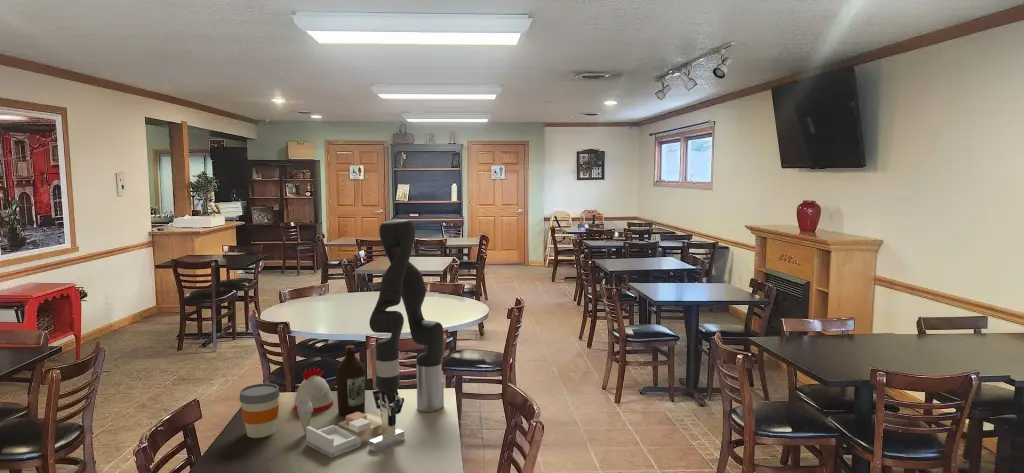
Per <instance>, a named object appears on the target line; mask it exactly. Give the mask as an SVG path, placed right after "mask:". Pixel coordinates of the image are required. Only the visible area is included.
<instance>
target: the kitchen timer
mask: <svg viewBox="0 0 1024 473" xmlns="http://www.w3.org/2000/svg"><path fill="white" fill-rule="evenodd" d="M320 371H321V369H320V368H316V366H313V368H312V367H310V368H309V371H308V369H307V368H305V370H304V373H303V372H301V375H302V377H303V381H302V382H301V383H300V385H299V387H298V388H297V391H296V394H295V397H294V410H295V411H298V410H297V408H298V405H299V403H300V402H301V398H302V396H303V394H304V392H305V394H306V396H307V397H308V399H309V402H311V403H312V409H313V411H312V413H317V412H322V411H325V410H328V409H330V408H332V407H333V405H334V397H333V394H332V391H331V389H330V386H329V384H328V382H327V381H326V380H325V379H324V378H323V375H324V371H323V370H322V371H321V372H320Z"/></svg>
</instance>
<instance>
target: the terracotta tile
mask: <svg viewBox="0 0 1024 473" xmlns="http://www.w3.org/2000/svg"><path fill="white" fill-rule="evenodd" d="M360 418H363V419H365V420H367V415H365V413H360V412H355V413H352V414H349V415H346V417H345V420H346V422H348V423H349V422H351V421H354V420H357V419H360Z"/></svg>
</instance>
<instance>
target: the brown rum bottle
mask: <svg viewBox="0 0 1024 473" xmlns="http://www.w3.org/2000/svg"><path fill="white" fill-rule="evenodd" d="M355 348H356V347H355V345H346V346H345V351H344V352H345V356H344V358H343V359H342V360H341V361H340V363H338V365H337V366H336V370H335V383H336V395H337V413H338V415H339V417H342V418H346V415H349V414H352V413H355V412H360V413H363V414H365V412H366V408H365V407H366V375H367V374H366V373H367V372H366V368H365V367H366V366H365V365H364V363H363V362H362V361H361V360H360V359H358V357H357V356H356V349H355Z"/></svg>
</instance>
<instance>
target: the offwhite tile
mask: <svg viewBox="0 0 1024 473" xmlns="http://www.w3.org/2000/svg"><path fill="white" fill-rule="evenodd" d="M349 428H350V429H352V430H354V431H356V432H360V431H363V430H366V429H368V428H371V422H370V421H368V420H365V419H363V418H360V419H357V420H354V421H351V422H349Z"/></svg>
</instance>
